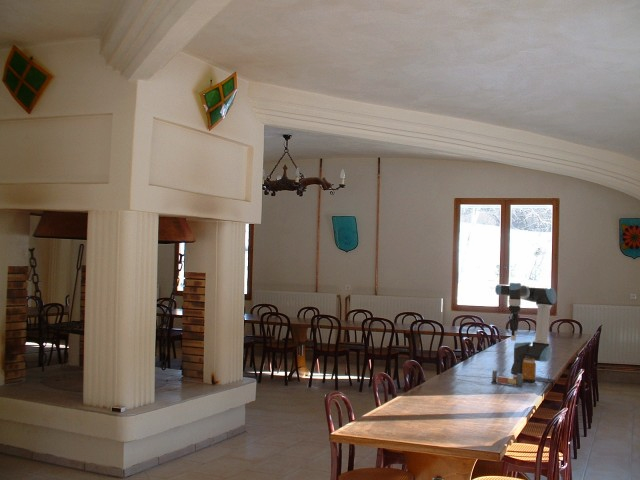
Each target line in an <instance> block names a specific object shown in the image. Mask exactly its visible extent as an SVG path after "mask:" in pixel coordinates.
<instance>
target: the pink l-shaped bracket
mask: <svg viewBox="0 0 640 480" xmlns="http://www.w3.org/2000/svg"><path fill="white" fill-rule="evenodd" d="M508 378H510V379H517V375H513V377H506V376H500V375H499V376H497V383H496V384H505V385H511V386H515V387H517V386H516V384H511V383H508Z"/></svg>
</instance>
